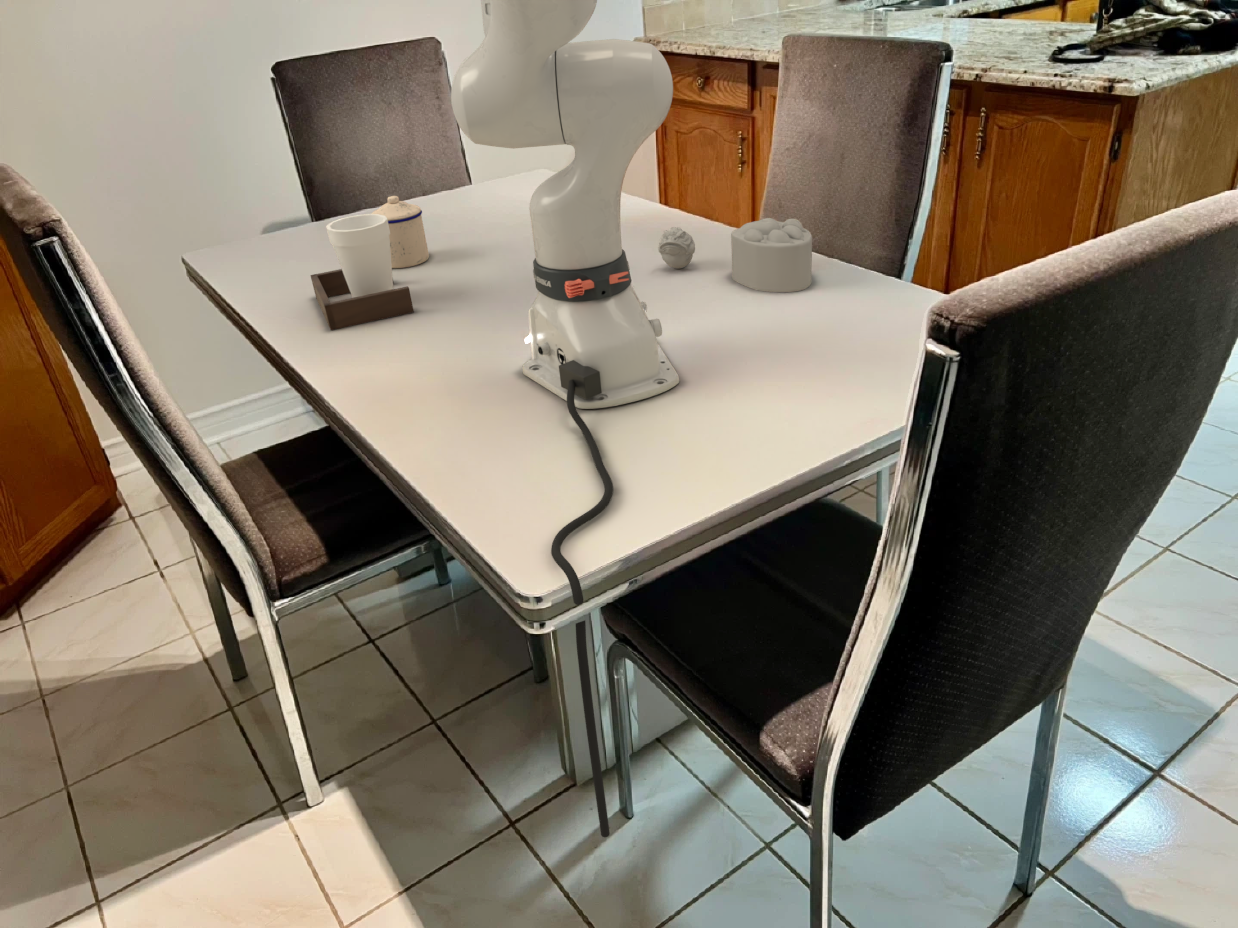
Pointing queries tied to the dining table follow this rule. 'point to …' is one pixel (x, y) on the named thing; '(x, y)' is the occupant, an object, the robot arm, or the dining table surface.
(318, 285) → the bay
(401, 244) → the teacup with lid
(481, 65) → the robot arm
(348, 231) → the foam cup
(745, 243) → the lumpy-topped squat cylinder
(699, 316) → the dining table surface
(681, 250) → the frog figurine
